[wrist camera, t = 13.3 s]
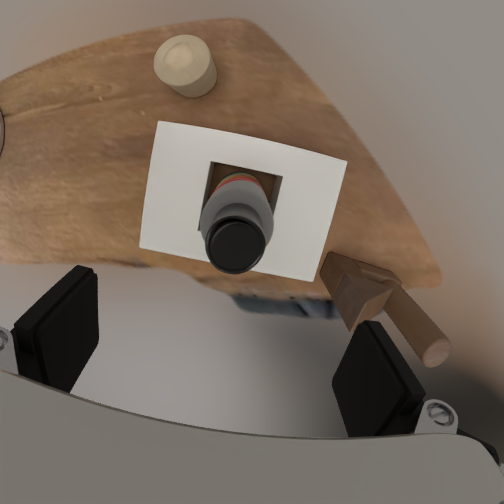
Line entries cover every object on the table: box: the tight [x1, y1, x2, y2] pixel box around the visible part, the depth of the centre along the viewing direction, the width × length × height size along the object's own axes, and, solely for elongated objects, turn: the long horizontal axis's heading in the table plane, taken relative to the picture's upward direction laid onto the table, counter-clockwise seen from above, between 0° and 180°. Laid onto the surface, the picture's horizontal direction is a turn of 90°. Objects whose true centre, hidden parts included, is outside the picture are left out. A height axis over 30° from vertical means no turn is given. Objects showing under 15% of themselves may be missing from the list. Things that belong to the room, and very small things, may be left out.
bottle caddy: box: [139, 121, 347, 282], centre depth 35 cm, size 20×14×6 cm
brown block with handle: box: [320, 252, 451, 367], centre depth 33 cm, size 4×11×18 cm, turn 72°
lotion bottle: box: [200, 172, 274, 274], centre depth 28 cm, size 6×6×20 cm
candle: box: [154, 35, 217, 98], centre depth 28 cm, size 6×6×10 cm
